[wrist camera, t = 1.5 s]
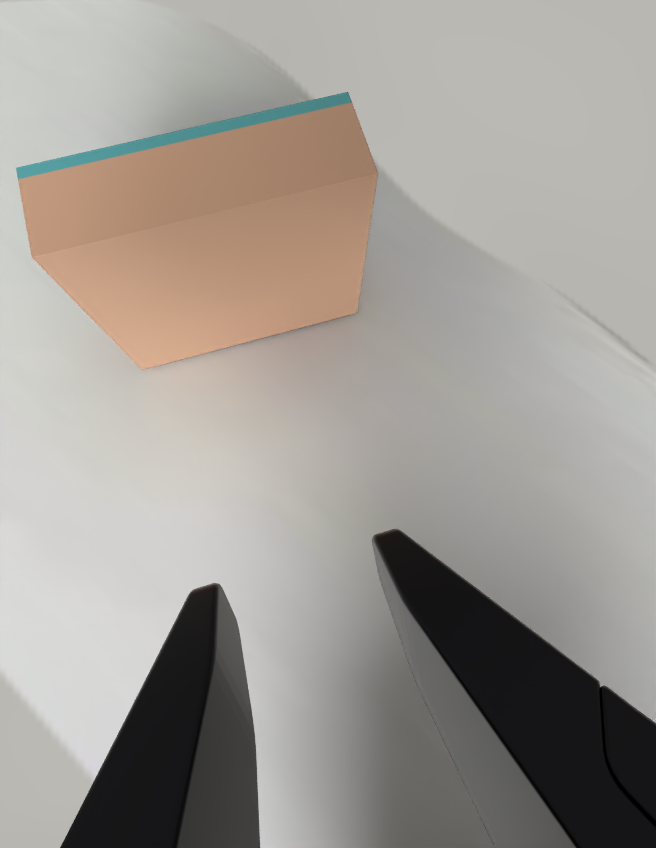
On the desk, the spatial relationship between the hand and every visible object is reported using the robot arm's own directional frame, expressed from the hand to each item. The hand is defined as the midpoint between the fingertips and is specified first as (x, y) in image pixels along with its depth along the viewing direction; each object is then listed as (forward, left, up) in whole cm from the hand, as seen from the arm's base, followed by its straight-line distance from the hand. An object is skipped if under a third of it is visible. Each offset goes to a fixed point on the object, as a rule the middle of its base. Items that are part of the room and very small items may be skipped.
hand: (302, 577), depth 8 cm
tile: (+12, 0, -14) cm, 18 cm away
